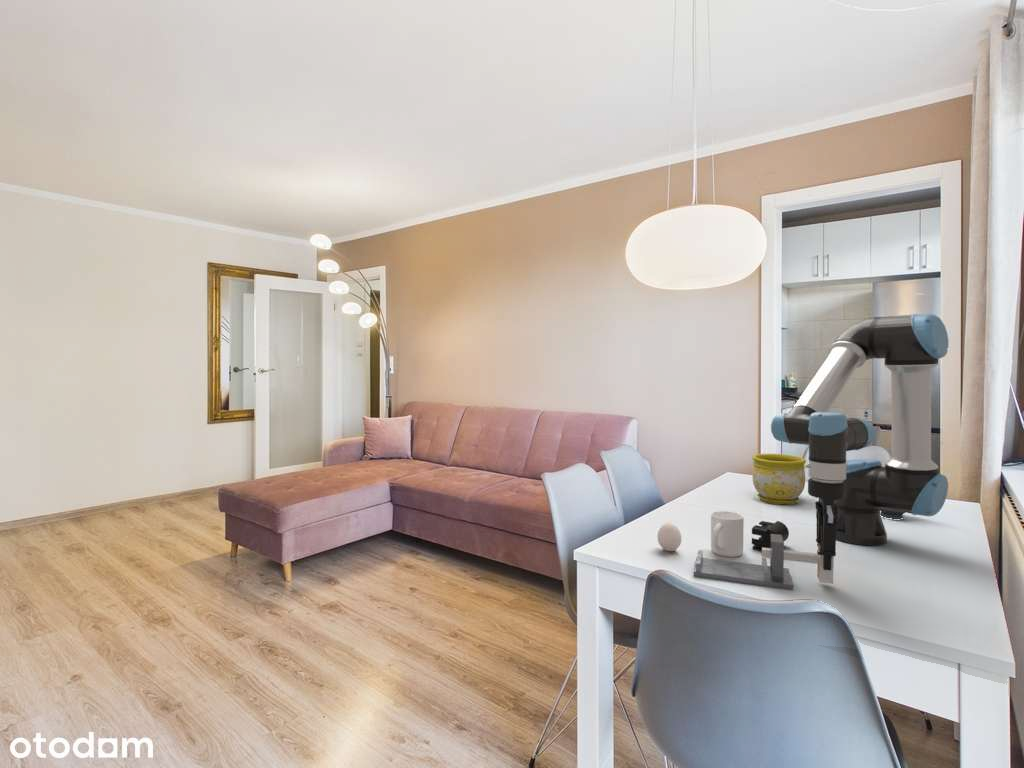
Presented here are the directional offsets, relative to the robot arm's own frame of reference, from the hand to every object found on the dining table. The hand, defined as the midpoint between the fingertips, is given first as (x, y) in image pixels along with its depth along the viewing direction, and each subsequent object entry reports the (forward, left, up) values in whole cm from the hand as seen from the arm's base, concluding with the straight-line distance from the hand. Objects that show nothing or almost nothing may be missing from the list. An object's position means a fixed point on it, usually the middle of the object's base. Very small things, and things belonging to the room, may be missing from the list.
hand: (825, 579), depth 124 cm
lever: (+6, 0, 0) cm, 6 cm away
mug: (+22, -14, -2) cm, 26 cm away
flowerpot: (+4, -82, -2) cm, 82 cm away
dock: (+18, 0, -2) cm, 18 cm away
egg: (+36, -11, -2) cm, 38 cm away
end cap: (+10, -24, -2) cm, 26 cm away
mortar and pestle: (-30, -71, -2) cm, 77 cm away
